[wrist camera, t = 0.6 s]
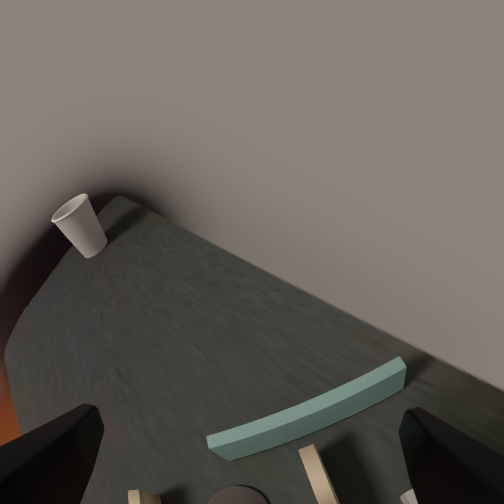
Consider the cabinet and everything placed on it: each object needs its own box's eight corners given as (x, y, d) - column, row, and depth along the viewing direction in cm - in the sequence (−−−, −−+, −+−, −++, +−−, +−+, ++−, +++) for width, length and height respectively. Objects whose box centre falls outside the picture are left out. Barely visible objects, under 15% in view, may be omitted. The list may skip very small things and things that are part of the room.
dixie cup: (72, 265, 55) (43, 224, 49) (92, 238, 62) (67, 199, 56) (100, 259, 53) (69, 214, 47) (120, 230, 59) (94, 188, 53)
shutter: (403, 388, 20) (406, 366, 18) (228, 461, 20) (208, 448, 18) (395, 375, 21) (396, 352, 19) (225, 446, 21) (205, 432, 19)
